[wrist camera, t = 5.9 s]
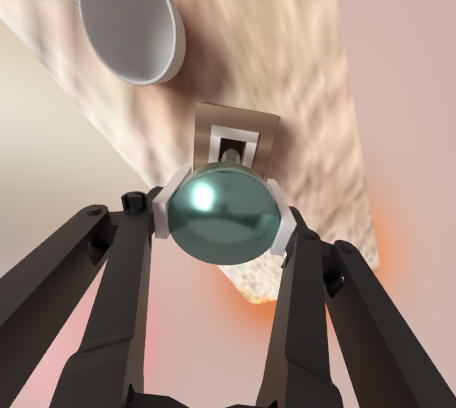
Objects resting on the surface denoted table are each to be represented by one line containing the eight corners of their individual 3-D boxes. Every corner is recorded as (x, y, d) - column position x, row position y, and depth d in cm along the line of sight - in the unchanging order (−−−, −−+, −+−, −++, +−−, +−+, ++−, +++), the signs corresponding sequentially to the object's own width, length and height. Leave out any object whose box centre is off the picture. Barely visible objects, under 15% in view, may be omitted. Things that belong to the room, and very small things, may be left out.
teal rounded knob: (204, 177, 26) (168, 257, 13) (208, 126, 22) (165, 165, 9) (250, 184, 26) (263, 271, 13) (262, 135, 22) (296, 186, 9)
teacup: (206, 35, 25) (193, 10, 18) (171, 104, 30) (151, 104, 23) (112, -57, 21) (52, -132, 14) (88, 38, 26) (35, 16, 19)
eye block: (203, 102, 29) (195, 102, 24) (272, 114, 30) (280, 117, 24) (199, 169, 36) (191, 181, 30) (256, 178, 36) (260, 192, 30)
